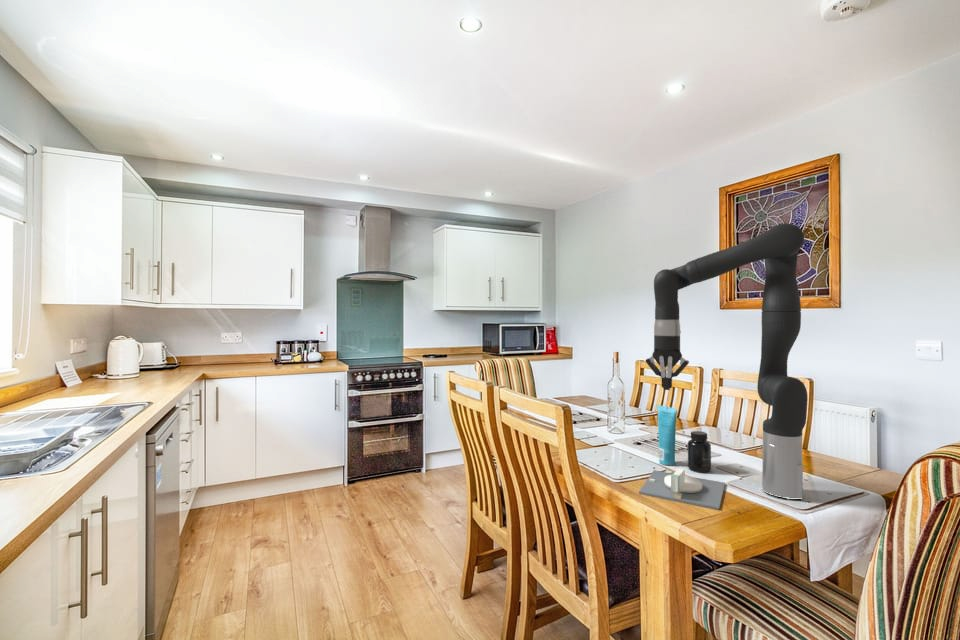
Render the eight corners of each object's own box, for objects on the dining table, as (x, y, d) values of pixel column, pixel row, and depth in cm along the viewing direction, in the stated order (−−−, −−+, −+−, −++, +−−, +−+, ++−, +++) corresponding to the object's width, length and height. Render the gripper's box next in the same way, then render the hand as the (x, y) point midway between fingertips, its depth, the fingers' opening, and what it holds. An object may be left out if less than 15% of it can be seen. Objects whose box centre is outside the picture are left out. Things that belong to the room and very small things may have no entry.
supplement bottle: (708, 467, 148) (708, 430, 148) (713, 474, 142) (713, 436, 141) (685, 465, 150) (686, 429, 150) (689, 472, 144) (689, 434, 143)
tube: (680, 464, 151) (681, 407, 150) (673, 467, 148) (673, 409, 147) (660, 459, 156) (660, 404, 156) (652, 462, 153) (652, 405, 153)
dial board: (724, 484, 133) (724, 479, 133) (719, 510, 116) (719, 504, 116) (653, 472, 144) (653, 467, 144) (639, 493, 127) (639, 488, 127)
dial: (669, 477, 137) (669, 458, 137) (705, 484, 131) (705, 465, 131) (655, 492, 126) (655, 472, 125) (694, 501, 119) (694, 480, 119)
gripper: (642, 334, 140) (642, 389, 141) (688, 335, 133) (688, 393, 134) (647, 333, 147) (647, 386, 147) (691, 334, 140) (691, 389, 140)
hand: (666, 389), depth 140 cm, fingers closed
